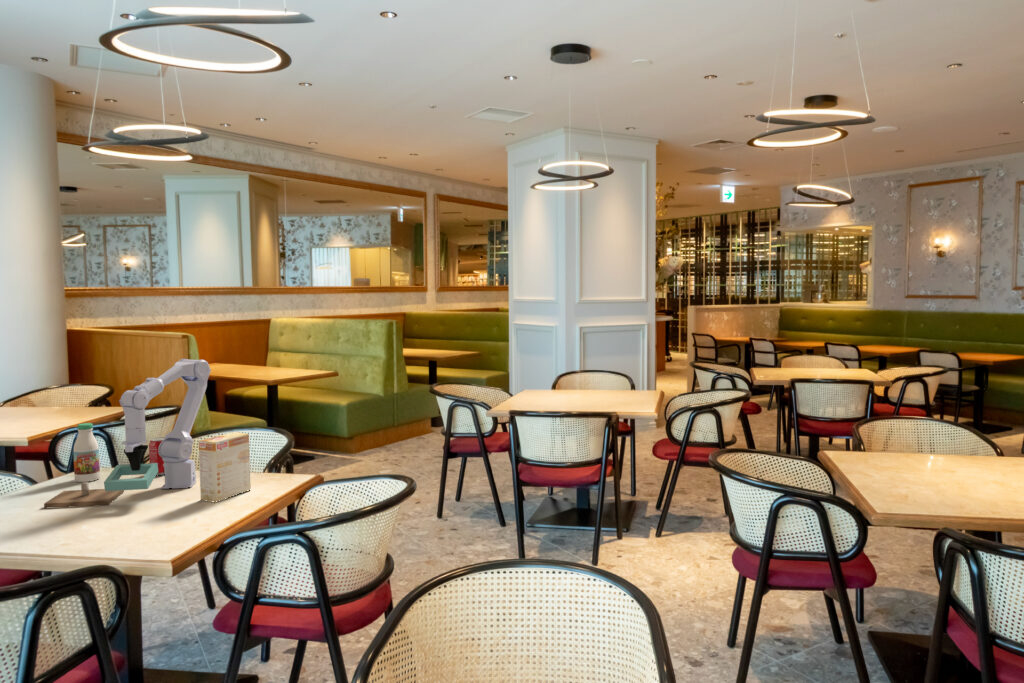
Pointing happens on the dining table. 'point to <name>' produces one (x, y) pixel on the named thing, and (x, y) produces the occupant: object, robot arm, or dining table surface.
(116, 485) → the teal square frame
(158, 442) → the soda can
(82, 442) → the milk bottle
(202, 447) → the coffeecake box
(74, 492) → the board
